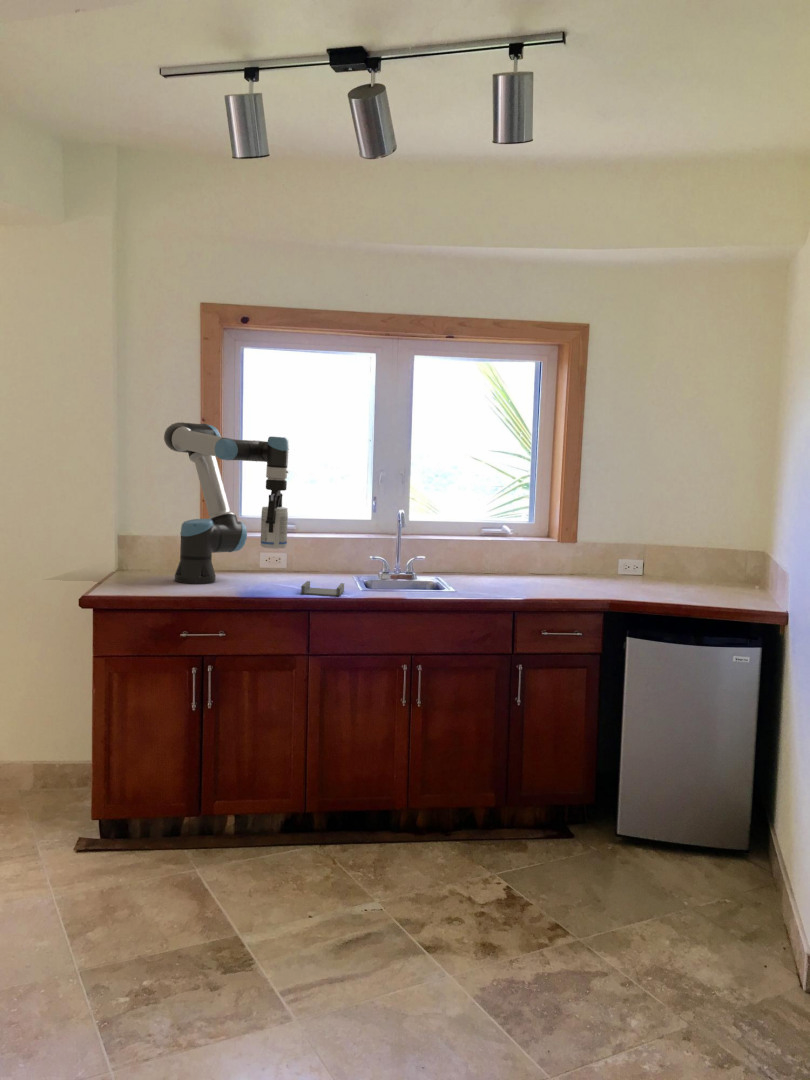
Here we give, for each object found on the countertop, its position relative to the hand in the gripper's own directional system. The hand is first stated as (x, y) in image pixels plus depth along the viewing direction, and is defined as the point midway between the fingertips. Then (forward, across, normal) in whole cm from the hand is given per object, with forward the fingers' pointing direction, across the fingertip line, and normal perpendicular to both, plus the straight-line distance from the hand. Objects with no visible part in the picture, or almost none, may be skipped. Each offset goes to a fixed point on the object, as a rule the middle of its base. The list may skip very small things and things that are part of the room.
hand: (273, 540), depth 330 cm
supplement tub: (+3, 0, 0) cm, 3 cm away
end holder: (+18, -1, -19) cm, 26 cm away
